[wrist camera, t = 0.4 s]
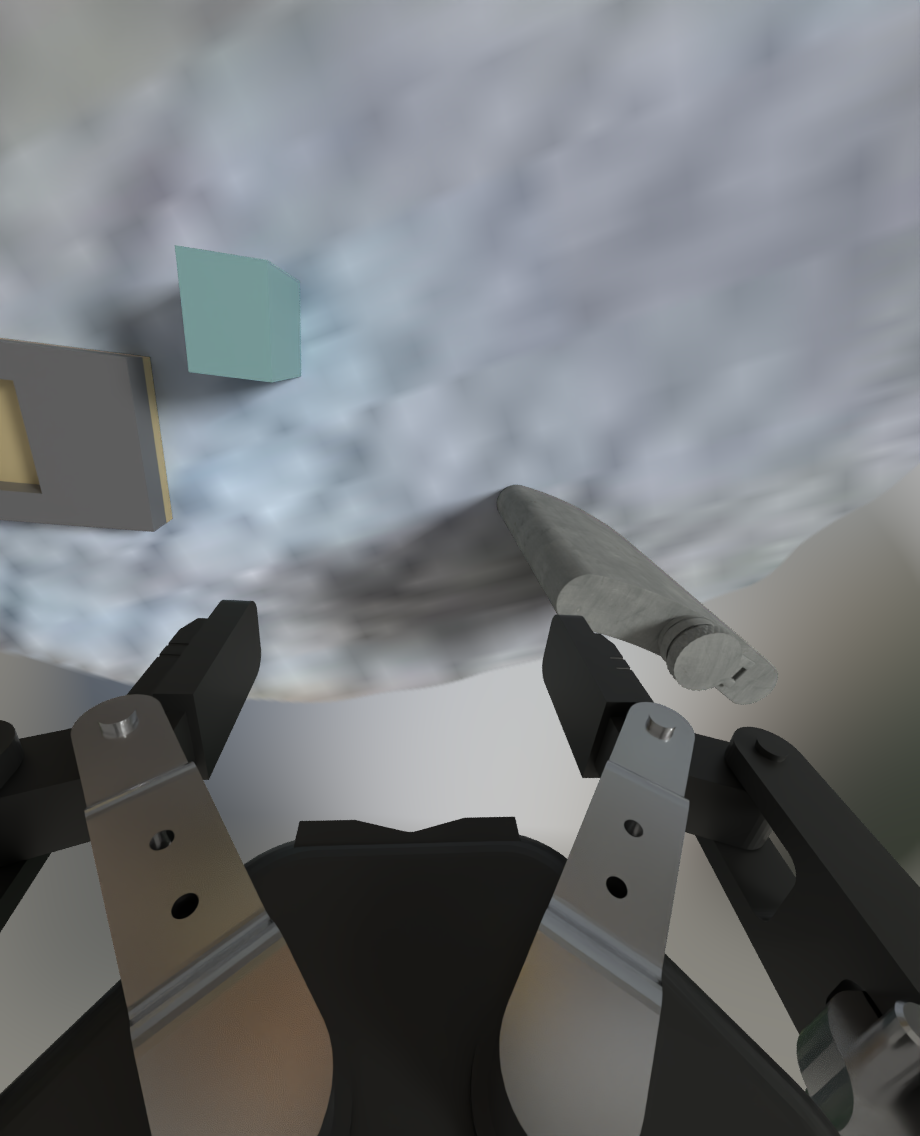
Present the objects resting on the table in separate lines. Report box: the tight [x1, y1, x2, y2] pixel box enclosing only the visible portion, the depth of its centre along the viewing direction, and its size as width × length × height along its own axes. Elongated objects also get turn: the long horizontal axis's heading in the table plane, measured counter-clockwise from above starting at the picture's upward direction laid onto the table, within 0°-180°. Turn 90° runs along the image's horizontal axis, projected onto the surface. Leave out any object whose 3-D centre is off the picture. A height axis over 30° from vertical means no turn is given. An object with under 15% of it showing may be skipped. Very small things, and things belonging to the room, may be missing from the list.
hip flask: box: [497, 485, 778, 705], centre depth 32 cm, size 16×4×20 cm, turn 60°
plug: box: [175, 245, 301, 382], centre depth 28 cm, size 6×4×8 cm
